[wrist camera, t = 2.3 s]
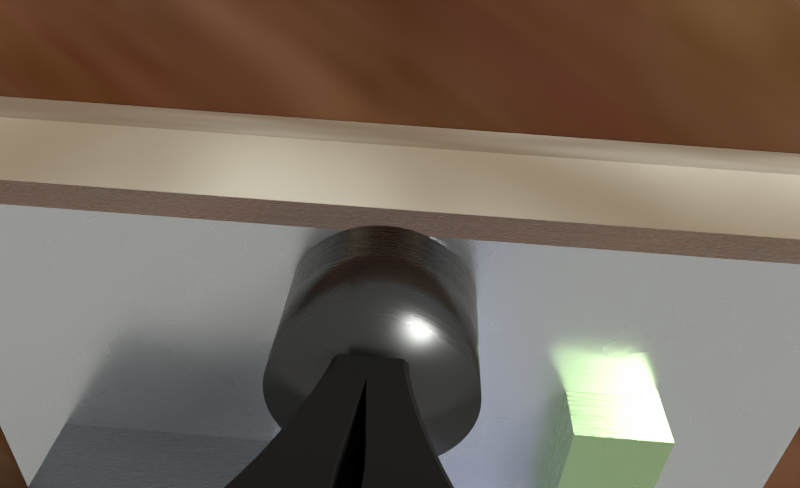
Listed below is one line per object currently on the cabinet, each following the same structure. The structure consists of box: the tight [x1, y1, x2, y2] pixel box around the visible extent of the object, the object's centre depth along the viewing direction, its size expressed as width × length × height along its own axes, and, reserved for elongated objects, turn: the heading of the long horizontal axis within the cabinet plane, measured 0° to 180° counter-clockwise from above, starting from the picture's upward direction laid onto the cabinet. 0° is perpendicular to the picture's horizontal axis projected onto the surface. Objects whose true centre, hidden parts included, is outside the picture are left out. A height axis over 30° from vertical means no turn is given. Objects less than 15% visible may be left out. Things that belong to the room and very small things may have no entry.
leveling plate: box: [0, 180, 800, 488], centre depth 18 cm, size 14×22×5 cm, turn 87°
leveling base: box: [0, 96, 800, 239], centre depth 22 cm, size 15×24×2 cm, turn 87°
